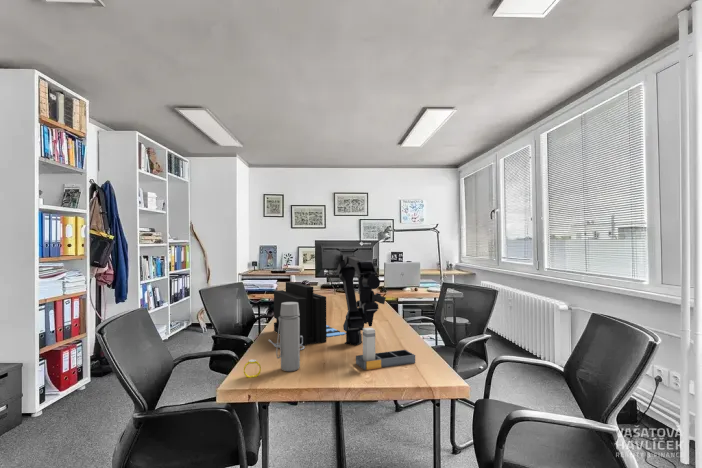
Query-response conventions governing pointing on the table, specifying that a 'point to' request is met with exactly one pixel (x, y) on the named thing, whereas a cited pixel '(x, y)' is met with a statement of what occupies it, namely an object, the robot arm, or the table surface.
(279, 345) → the wall mount rack
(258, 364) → the yellow ring
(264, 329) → the table surface
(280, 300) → the game console
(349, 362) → the table surface
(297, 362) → the water bottle
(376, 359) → the rack
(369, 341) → the white capped pillar
